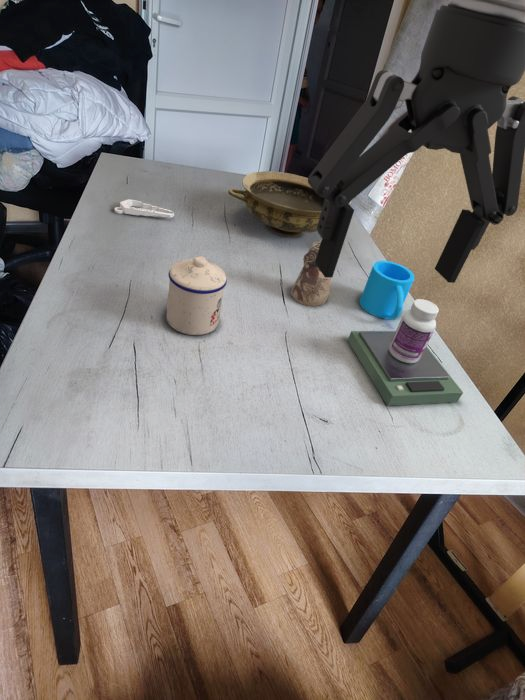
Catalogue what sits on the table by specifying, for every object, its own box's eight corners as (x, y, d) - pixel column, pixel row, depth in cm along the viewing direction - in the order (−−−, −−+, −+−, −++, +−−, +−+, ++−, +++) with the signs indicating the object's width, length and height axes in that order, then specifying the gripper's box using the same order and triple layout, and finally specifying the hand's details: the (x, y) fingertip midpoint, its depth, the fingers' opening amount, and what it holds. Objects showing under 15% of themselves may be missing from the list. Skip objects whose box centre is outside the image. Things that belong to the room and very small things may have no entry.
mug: (355, 293, 98) (368, 258, 93) (391, 298, 100) (406, 263, 95) (370, 328, 89) (386, 290, 84) (410, 332, 91) (428, 296, 86)
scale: (457, 402, 77) (464, 390, 75) (387, 406, 73) (393, 393, 71) (409, 340, 88) (415, 328, 87) (347, 340, 84) (352, 328, 83)
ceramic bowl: (330, 216, 129) (341, 180, 123) (355, 259, 111) (369, 219, 105) (220, 201, 123) (226, 161, 117) (226, 244, 104) (234, 200, 98)
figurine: (291, 283, 96) (306, 228, 89) (325, 290, 97) (343, 236, 90) (290, 302, 91) (306, 245, 83) (327, 309, 91) (346, 253, 84)
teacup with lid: (221, 339, 77) (232, 277, 70) (164, 335, 75) (169, 270, 68) (216, 298, 87) (225, 239, 80) (165, 294, 85) (170, 233, 78)
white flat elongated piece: (174, 213, 112) (175, 206, 111) (173, 222, 108) (173, 214, 107) (117, 203, 109) (117, 196, 108) (113, 212, 106) (113, 205, 105)
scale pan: (448, 379, 77) (449, 376, 77) (389, 381, 74) (390, 378, 73) (412, 334, 86) (413, 331, 86) (358, 334, 83) (359, 331, 82)
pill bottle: (423, 366, 78) (448, 318, 72) (392, 362, 77) (414, 312, 71) (414, 346, 82) (437, 299, 76) (385, 341, 81) (406, 293, 75)
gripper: (582, 38, 41) (468, 260, 53) (313, -34, 33) (255, 247, 45) (658, 54, 35) (510, 297, 48) (356, -27, 27) (277, 289, 40)
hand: (386, 273), depth 47 cm, fingers open, 13 cm apart
